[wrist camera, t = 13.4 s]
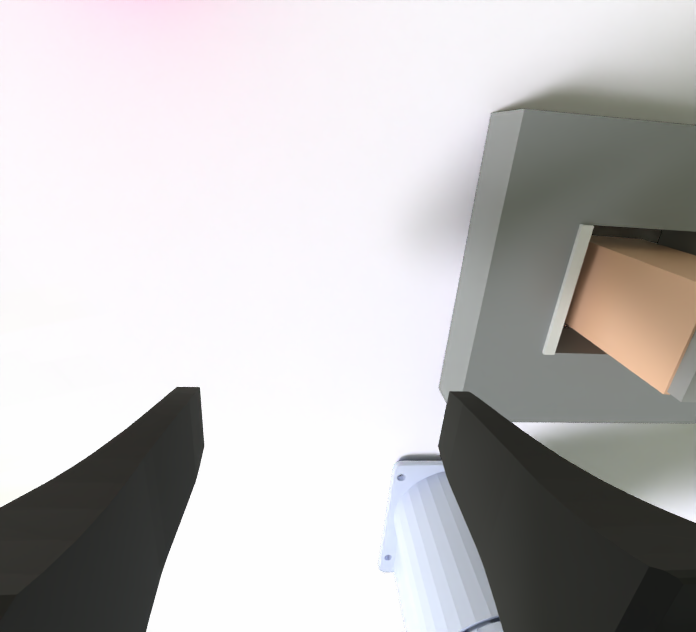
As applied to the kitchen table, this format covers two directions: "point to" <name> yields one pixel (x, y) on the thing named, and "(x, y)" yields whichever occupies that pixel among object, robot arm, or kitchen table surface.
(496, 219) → the socket block
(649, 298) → the plug
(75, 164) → the kitchen table surface
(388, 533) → the robot arm
